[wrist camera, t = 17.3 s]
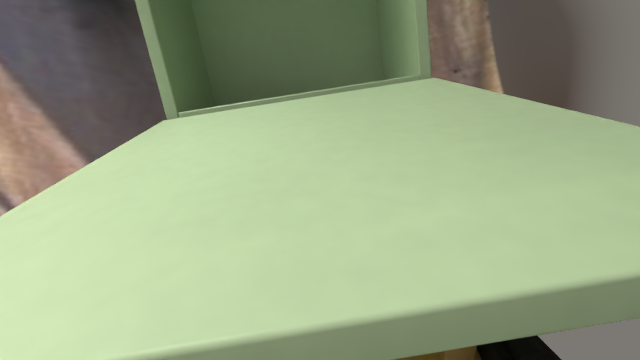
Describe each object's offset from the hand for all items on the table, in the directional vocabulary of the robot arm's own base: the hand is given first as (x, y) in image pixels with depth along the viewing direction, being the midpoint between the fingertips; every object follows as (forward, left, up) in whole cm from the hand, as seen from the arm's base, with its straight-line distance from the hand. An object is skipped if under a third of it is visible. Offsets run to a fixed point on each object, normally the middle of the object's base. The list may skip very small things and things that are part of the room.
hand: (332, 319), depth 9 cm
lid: (-5, 0, -2) cm, 6 cm away
